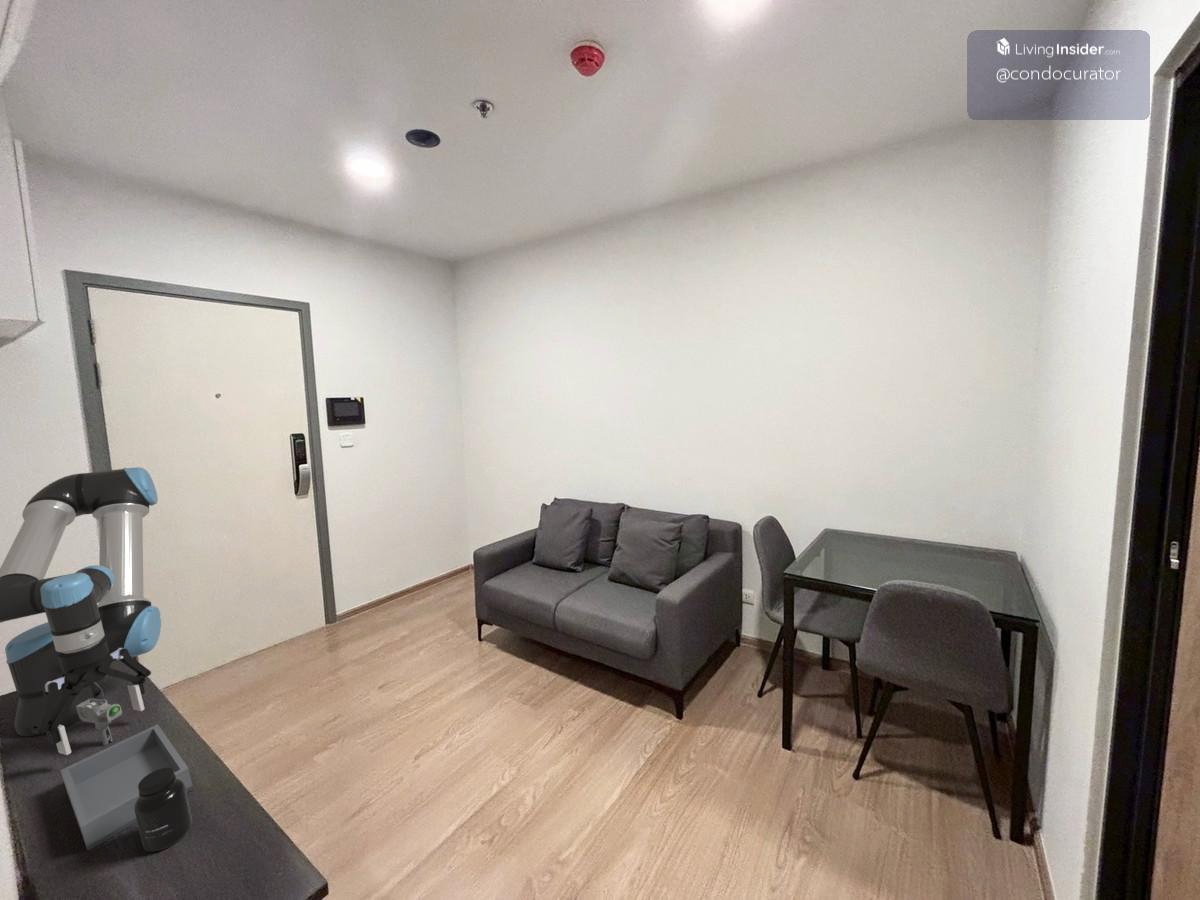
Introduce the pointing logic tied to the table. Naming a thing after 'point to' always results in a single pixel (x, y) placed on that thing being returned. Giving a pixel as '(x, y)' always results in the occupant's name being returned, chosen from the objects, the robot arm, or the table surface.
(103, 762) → the bin
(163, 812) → the supplement bottle
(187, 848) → the table surface
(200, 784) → the table surface
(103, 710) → the mechanical component
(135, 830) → the table surface
